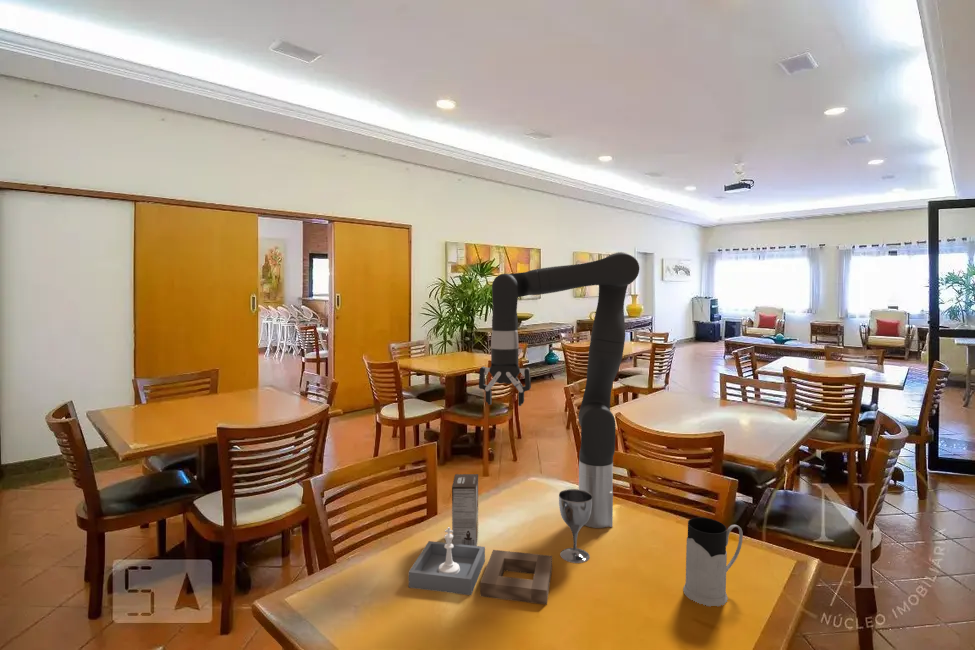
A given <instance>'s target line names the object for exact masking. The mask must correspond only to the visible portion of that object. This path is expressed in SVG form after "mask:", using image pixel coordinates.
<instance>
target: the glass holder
mask: <svg viewBox="0 0 975 650" xmlns="http://www.w3.org/2000/svg"><path fill="white" fill-rule="evenodd" d="M734 528H737V529H738V533H739V534H738V535H739V536H738V544H737V548H736V549H735V552H734V554H733V556H732V558H731V560H730V561H729V562H727V560H728V559H727V558H728V555H727V554H728V552H727V546H728V543H729V537H730V533H731V531H732V530H733V529H734ZM743 534H744V533H743V530H742V527H740V526H739V525H737V524H731V525H730V526H728V528H727V527H726V525H725V524H723V523H722V522H721V521H718V520H715V519H712V518H708V517H692V518H690V519H688V520H687V537H686V545H685V546H686V552H685V583H684V585H683V593H684V595H685V597H686V598H688V599H689V600H690V601H692V600H693V601H692V602H694V601H695V602H694V603H696V602H697V603H696V604H698V603H699V604H698V605H701V604H703V605H702V606H705V605H706V606H705V607H711V606H717V607H722V606H724V605H726V604H727V603H728V601H729V597H728V595H727V591H726V590H727V589H726V588H727V572H729V569H730V568H731V567H732V566H733V564H734V563H735V562H736V560H737V559H738V557H739V554H740V552H741V549H742V544H743V537H744V536H743ZM727 563H728V564H727ZM727 600H728V601H727ZM726 602H727V603H726ZM725 603H726V604H725ZM721 605H722V606H721Z"/></svg>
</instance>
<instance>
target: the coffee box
mask: <svg viewBox="0 0 975 650" xmlns="http://www.w3.org/2000/svg"><path fill="white" fill-rule="evenodd" d="M451 513H452V514H451V521H452V522H451V524H452V527H451V528H452V529H451V530H453V532H452V533H451V534H452V535H453V539H452V543H453V544H462V545H472V546H478V539H479V538H478V537H479V474H477V473H476V474H474V473H473V474H472V473H470V474H466V473H463V474H461V473H460V474H458V473H456V474H455V475H454V477H453V482H452V485H451Z"/></svg>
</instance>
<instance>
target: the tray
mask: <svg viewBox="0 0 975 650" xmlns="http://www.w3.org/2000/svg"><path fill="white" fill-rule="evenodd" d="M445 544H447V543H446V542H441V541H433V540H429V541H428V542H427V543H426V545H425V546H424V548H423V550H422V551H421V552H420V554H419V556H418V557H417V559H416V560H415V561H414V563H413V564H412V565H411V568H410V569H409V571H408V588H410V589H419V590H425V591H433V592H443V593H449V594H450V593H452V594H458V595H459V594H460V595H467V596H472V594H473V592H474V589H475V587H476V584H477V582H478V579H479V578H480V577H479V576H480V574H481V571H483V566H484V564H485V562H486V546H481V545H477V546H472V545H462V544H453V543H451V544H453V546H454V547H453V548H452V549H451V553H452V560H453V562H456V563H457V564H459V566H460V571H459V573H457V574H455V575H453V574H445V573H439V571H438V569H439V566H440V565H441V564H442V563H444V562H445V561H446V553H447V549H446V548H444V546H445Z"/></svg>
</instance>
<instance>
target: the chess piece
mask: <svg viewBox="0 0 975 650" xmlns="http://www.w3.org/2000/svg"><path fill="white" fill-rule="evenodd" d="M444 532H445V533H446V534H445V535H444V536H443V537H444V540H445V543H447V544H445V546H444V548H446V549H447V553H446V561H445V562H444V563H442V564H441V565H440V566H439V569H438V571H439V573H445V574H453V575H455V574H457V573H459V571H460V566H459V564H457V563H456V562H453V560H452V553H451V549H452V548H453V547H454V546H453V544H451V543H452V539H453V535H452V532H453V530H452V529H451V527H450V526H448V527H447V529H445V530H444Z"/></svg>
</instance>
